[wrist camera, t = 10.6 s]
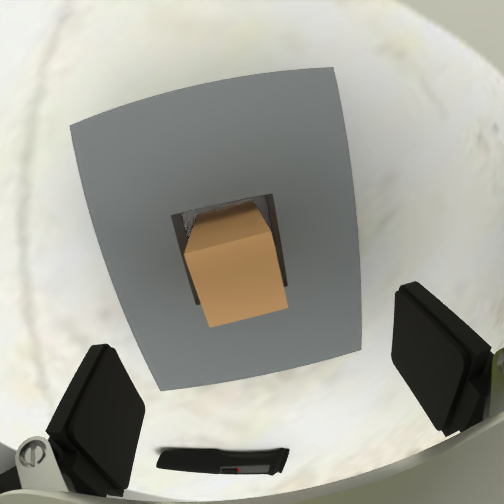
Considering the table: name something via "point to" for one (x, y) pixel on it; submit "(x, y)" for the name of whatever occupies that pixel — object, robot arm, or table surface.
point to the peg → (234, 264)
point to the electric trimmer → (223, 462)
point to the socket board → (222, 191)
